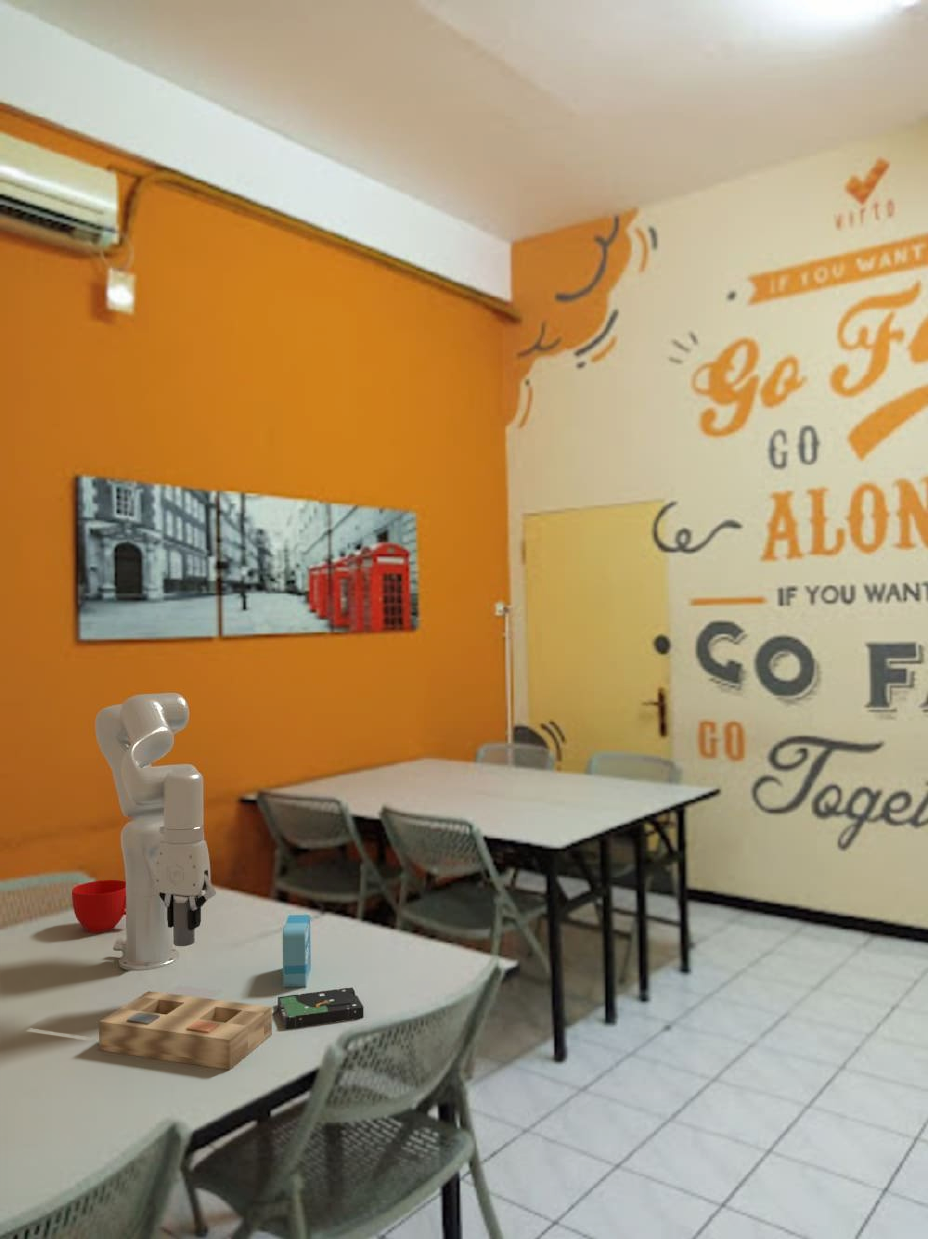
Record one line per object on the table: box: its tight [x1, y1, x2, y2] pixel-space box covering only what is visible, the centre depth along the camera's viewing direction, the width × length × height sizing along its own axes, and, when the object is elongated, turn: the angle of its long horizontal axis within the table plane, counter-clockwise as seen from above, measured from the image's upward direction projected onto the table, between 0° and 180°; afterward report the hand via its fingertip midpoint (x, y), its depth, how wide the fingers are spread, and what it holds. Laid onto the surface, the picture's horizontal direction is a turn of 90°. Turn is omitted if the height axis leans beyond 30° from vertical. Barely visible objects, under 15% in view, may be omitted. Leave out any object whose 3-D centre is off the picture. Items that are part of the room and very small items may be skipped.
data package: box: [282, 914, 312, 988], centre depth 199 cm, size 12×4×12 cm, turn 4°
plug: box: [172, 894, 196, 947], centre depth 189 cm, size 4×4×10 cm
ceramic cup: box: [71, 879, 126, 933], centre depth 233 cm, size 13×17×10 cm
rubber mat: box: [166, 984, 223, 999], centre depth 188 cm, size 10×10×1 cm
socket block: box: [98, 990, 273, 1071], centre depth 170 cm, size 26×14×5 cm, turn 72°
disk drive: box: [277, 987, 364, 1030], centre depth 182 cm, size 10×3×15 cm
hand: (184, 925), depth 189 cm, fingers closed on plug, 4 cm apart
